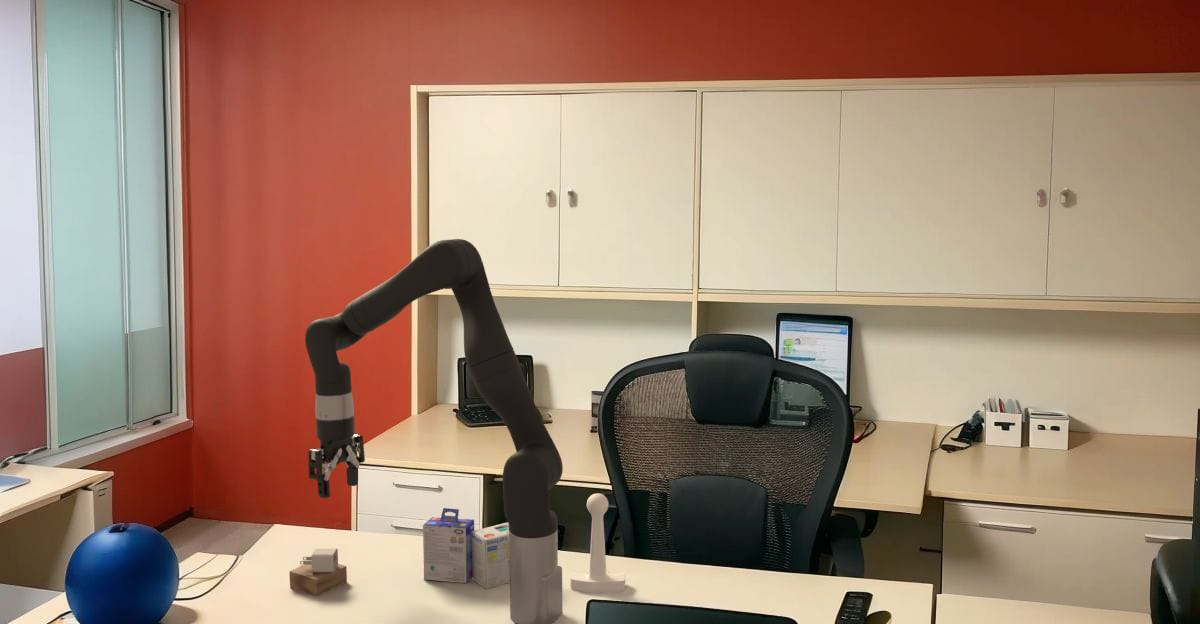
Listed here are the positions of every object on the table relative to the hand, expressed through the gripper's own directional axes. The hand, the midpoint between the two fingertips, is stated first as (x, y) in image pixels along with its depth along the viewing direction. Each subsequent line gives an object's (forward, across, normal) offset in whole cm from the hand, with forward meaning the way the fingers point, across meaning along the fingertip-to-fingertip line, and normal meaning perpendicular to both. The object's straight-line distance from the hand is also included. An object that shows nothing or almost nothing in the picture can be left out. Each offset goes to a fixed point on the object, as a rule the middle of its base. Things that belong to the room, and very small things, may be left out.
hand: (338, 491), depth 189 cm
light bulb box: (+20, +16, -29) cm, 38 cm away
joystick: (+21, +21, -49) cm, 57 cm away
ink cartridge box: (+20, +12, -19) cm, 30 cm away
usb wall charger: (+16, -3, +3) cm, 17 cm away
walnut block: (+20, -3, +4) cm, 21 cm away
